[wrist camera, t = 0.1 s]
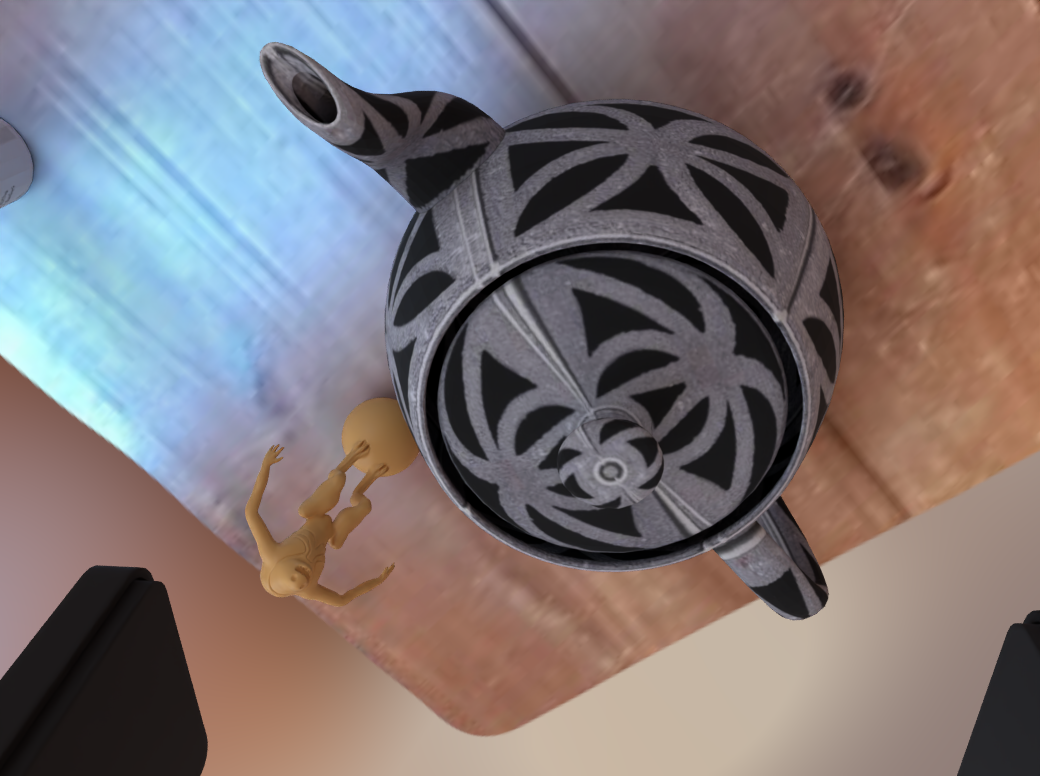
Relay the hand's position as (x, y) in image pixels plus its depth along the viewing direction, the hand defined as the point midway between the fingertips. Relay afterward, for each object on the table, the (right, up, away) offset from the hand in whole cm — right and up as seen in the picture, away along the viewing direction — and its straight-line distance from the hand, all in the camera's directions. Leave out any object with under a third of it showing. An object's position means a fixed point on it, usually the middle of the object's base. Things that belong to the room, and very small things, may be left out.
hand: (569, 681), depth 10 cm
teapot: (+3, +9, +31) cm, 32 cm away
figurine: (-8, +1, +36) cm, 37 cm away
